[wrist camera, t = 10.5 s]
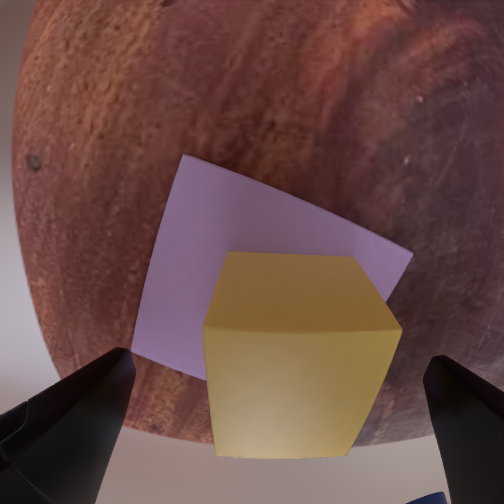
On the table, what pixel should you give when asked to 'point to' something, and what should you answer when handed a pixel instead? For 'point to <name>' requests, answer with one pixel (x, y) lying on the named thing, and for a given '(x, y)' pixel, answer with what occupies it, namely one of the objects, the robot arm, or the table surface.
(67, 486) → the robot arm
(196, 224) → the towel
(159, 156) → the table surface
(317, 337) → the cheese
